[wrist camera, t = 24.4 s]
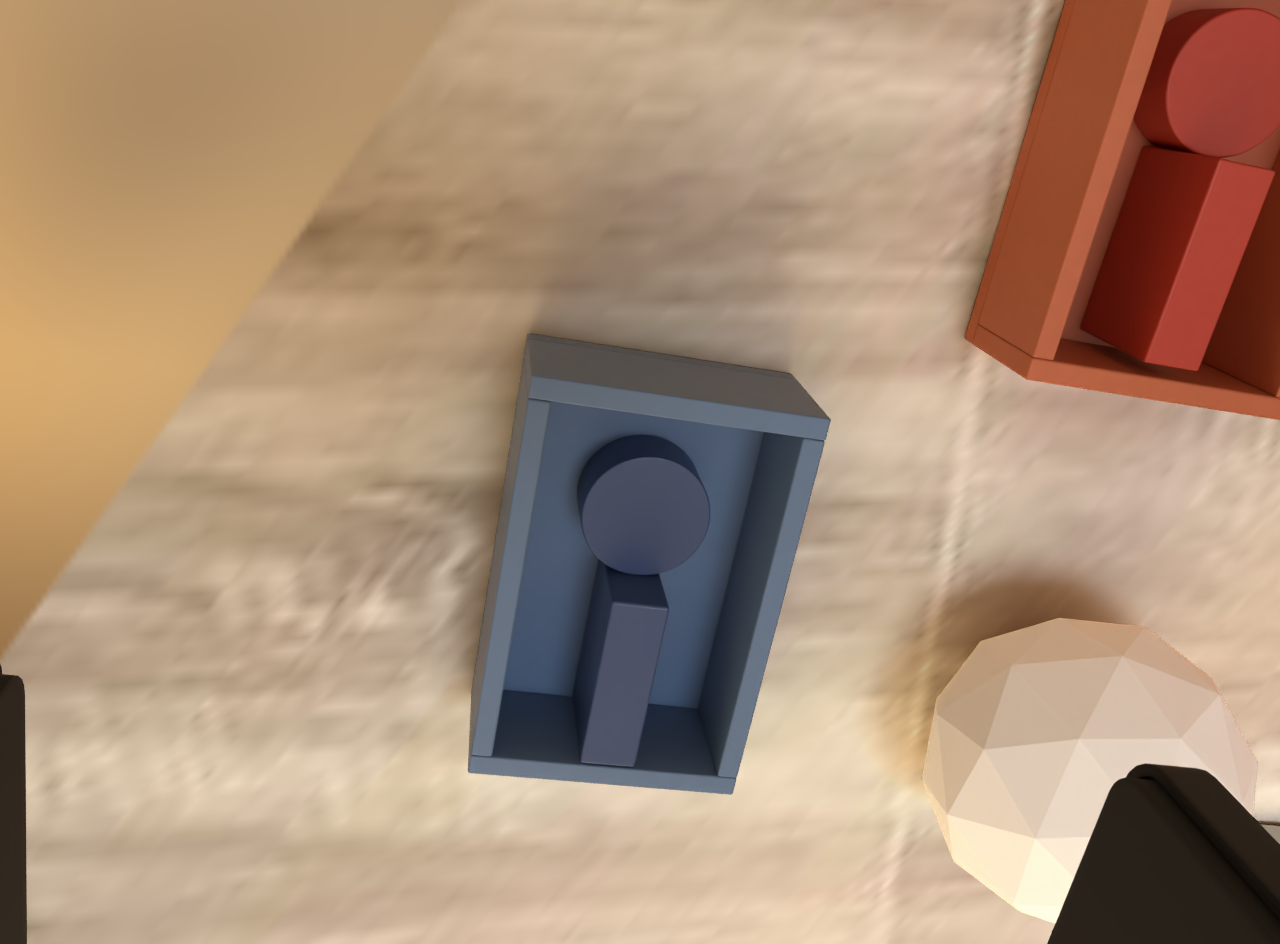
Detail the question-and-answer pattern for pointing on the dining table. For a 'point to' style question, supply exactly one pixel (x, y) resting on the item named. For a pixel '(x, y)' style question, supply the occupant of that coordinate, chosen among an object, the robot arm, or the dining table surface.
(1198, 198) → the red disc on stick
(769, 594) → the blue bin
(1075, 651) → the decorative ball
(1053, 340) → the red bin
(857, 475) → the dining table surface
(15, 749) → the robot arm
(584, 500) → the blue spoon
